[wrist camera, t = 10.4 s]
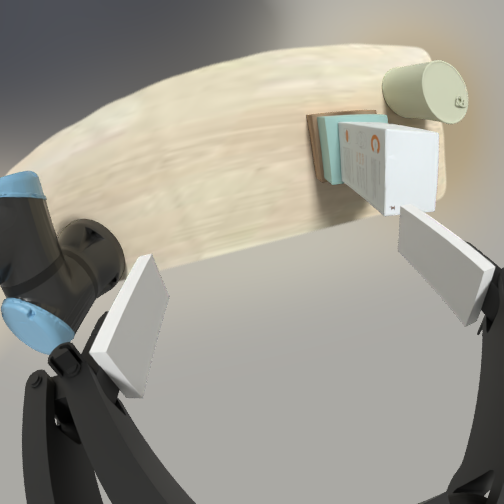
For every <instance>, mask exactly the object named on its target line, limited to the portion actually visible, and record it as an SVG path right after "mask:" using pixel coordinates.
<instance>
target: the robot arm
mask: <svg viewBox="0 0 504 504" xmlns="http://www.w3.org/2000/svg"><path fill="white" fill-rule="evenodd" d="M46 200H47V199H46V196H45V195H44V193H43V190H42V187H41V183H40V180H39V177H38V175H37V174H36V173H34V172H32V171H24V172H19V173H15V174H11V175H7V176H4V177H1V178H0V285H1V288H2V290H3V292H4V294H5V296H6V299H4V301H3V303H2V306H1V312H2V317H3V319H4V321H5V323H6V325H7V326H8V327H9V329H10V330H11V331H12V332H13V333H14V334H15V335H16V336H17V337H18V338H19V339H20V340H21V341H22V342H24V343H25V344H26V345H28V346H29V347H31V348H33V349H34V350H36V351H38V352H41V353H44V354H48V355H49V358H48V364H49V365H50V366H51V368H52V369H53V370H54V371H55V372H56V373H57V376H54V377H50V376H49V375H48V374H47V373H46V372H45V370H37V371H35V372H34V373H32V375H30V376H29V378H28V380H27V383H26V387H25V396H24V407H23V425H22V426H23V427H22V457H23V474H24V485H25V493H26V500H27V504H103V502H102V498H101V495H100V491H99V488H98V485H97V480H96V477H95V472H96V475H97V477H98V479H99V481H100V483H101V485H102V486H103V488H104V490H105V492H106V494H107V496H108V497H109V499H110V501H111V502H112V504H196V503H195V502H194V501H193V500H192V499H191V498H190V497H189V496H188V495H187V494H186V492H185V491H184V490H183V489H182V488H181V487H180V485H179V484H178V483H177V482H176V481H175V479H174V478H173V477H172V476H171V475H170V473H169V472H168V471H167V470H166V468H165V467H164V465H163V464H162V463H161V462H160V460H159V459H158V458H157V456H156V455H155V453H154V452H153V451H152V449H151V448H150V446H149V445H148V443H147V442H146V441H145V439H144V438H143V436H142V435H141V433H140V432H139V430H138V429H137V427H136V425H135V424H134V422H133V421H132V419H131V417H130V416H129V414H128V412H127V411H126V409H125V407H124V405H123V404H122V402H121V401H120V400H119V399H118V398H117V396H118V393H119V390H120V391H121V392H122V393H123V394H124V395H125V397H126V398H143V396H144V391H145V387H146V382H147V378H148V374H149V370H150V366H151V362H152V358H153V354H154V350H155V346H156V342H157V339H158V335H159V332H160V328H161V324H162V321H163V317H164V314H165V310H166V307H167V303H168V300H169V294H168V292H167V290H166V287H165V285H164V282H163V280H162V277H161V275H160V273H159V270H158V268H157V265H156V263H155V260H154V258H153V255H152V254H148V255H144V256H139V257H138V259H137V261H136V263H135V264H134V266H133V268H132V270H131V271H130V273H129V275H128V277H127V278H126V280H125V282H124V284H123V286H122V288H121V290H120V291H119V293H118V295H117V297H116V299H115V301H114V302H113V304H112V306H111V309H110V310H109V311H108V312H105V313H104V314H103V315H102V316H101V317H100V318H99V320H98V322H97V323H96V325H95V327H94V328H95V329H94V330H93V331H92V333H91V336H90V338H89V339H88V341H87V343H86V346H85V348H84V350H83V352H82V354H80V353H79V351H78V350H77V349H76V348H75V346H74V345H73V343H70V341H71V340H72V339H73V338H74V335H75V334H76V332H77V330H78V328H79V327H80V325H81V323H82V321H83V320H84V318H85V316H86V314H87V313H88V311H89V309H90V308H91V306H92V304H93V303H94V301H95V300H96V298H98V297H100V296H101V295H103V294H104V293H106V292H108V291H109V290H111V289H112V288H113V287H114V286H115V285H116V284H117V283H118V281H119V279H120V278H121V276H122V274H123V271H124V255H123V252H122V249H121V246H120V244H119V243H118V241H117V239H116V238H115V237H114V235H113V234H112V233H111V232H110V231H109V230H108V229H107V228H106V227H104V226H103V225H101V224H100V223H98V222H95V221H93V220H88V219H80V220H76V221H74V222H72V223H71V224H69V225H68V226H67V227H66V228H65V229H64V230H63V231H62V232H61V233H60V235H59V237H58V239H57V236H56V233H55V230H54V227H53V223H52V220H51V217H50V214H49V210H48V206H47V203H46ZM398 252H399V253H400V254H401V255H402V256H403V257H404V258H405V259H406V260H407V261H408V262H409V263H410V264H411V265H412V266H413V267H414V268H415V269H416V270H417V271H418V273H419V274H420V275H421V276H422V277H423V278H424V279H425V280H426V281H427V282H428V283H429V285H430V286H431V287H432V288H433V289H434V290H435V291H436V292H437V294H438V295H439V296H440V297H441V298H442V299H443V300H444V302H445V303H446V304H447V305H448V306H449V308H450V309H451V310H452V311H453V312H454V314H455V315H456V316H457V317H458V319H459V320H460V321H461V322H462V324H463V325H464V326H465V327H466V326H468V325H470V324H472V323H474V322H476V321H477V318H478V316H479V314H480V311H481V310H482V311H483V313H484V314H485V316H484V318H483V321H482V323H481V325H480V328H479V330H478V333H477V335H479V334H480V332H481V330H483V334H482V336H483V339H482V342H483V343H482V360H481V372H480V373H481V374H480V382H479V390H478V397H477V404H476V409H475V414H474V419H473V425H472V429H471V433H470V437H469V441H468V445H467V449H466V452H465V456H464V459H463V462H462V464H461V466H460V468H459V469H458V470H457V472H456V473H455V475H454V476H453V478H452V480H451V482H450V484H449V486H448V489H447V491H446V492H444V493H442V494H440V495H438V496H435V497H433V498H431V499H428V500H426V501H423V502H421V503H418V504H504V268H502V269H501V268H500V267H498V266H497V265H496V264H495V263H494V262H493V261H491V260H490V259H489V258H488V257H486V256H485V255H483V253H482V252H481V251H479V250H477V249H476V247H474V246H473V245H472V244H470V243H468V242H466V241H464V240H462V239H460V238H459V237H458V236H457V235H455V234H454V233H452V232H451V231H450V230H448V229H447V228H446V227H444V226H443V225H442V224H440V223H439V222H437V221H436V220H434V219H433V218H431V217H430V216H429V215H427V214H426V213H424V212H423V211H421V210H420V209H418V208H417V207H415V206H414V205H412V204H408V205H402V206H400V225H399V242H398ZM55 419H57V425H56V423H55ZM94 471H95V472H94ZM489 490H490V493H489V496H488V498H486V497H484V495H485V494H486V493H487V492H488V491H489Z"/></svg>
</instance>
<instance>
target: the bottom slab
mask: <svg viewBox="0 0 504 504" xmlns="http://www.w3.org/2000/svg"><path fill="white" fill-rule="evenodd" d="M356 114H377V113H376V110H356V111H342V112H330V113H320V114H311V115H306V116H307V121H308V127H309V133H310V139H311V145H312V152H313V158H314V165H315V172H316V177H317V178H318V179H319V180H320V181H321V182H322V183H323V182H328V181H327V180H326V179H325V178H324V170H323V161H322V152H321V144H320V136H319V129H318V122H317V117H322V116H336V115H356Z"/></svg>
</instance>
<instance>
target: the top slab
mask: <svg viewBox="0 0 504 504" xmlns="http://www.w3.org/2000/svg"><path fill="white" fill-rule="evenodd" d="M317 122H318V129H319V136H320V144H321V152H322V161H323V170H324V178H325V179H326V180H327V181H328V182H329V183H331V184H332V185H335V184H343V183H344V182H343V181H342V177H341V158H340V141H339V127H338V123H339V122H381V123H388V118H387V115H381V114H356V115H336V116H322V117H317Z"/></svg>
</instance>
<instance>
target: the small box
mask: <svg viewBox="0 0 504 504" xmlns="http://www.w3.org/2000/svg"><path fill="white" fill-rule="evenodd" d="M338 127H339V141H340V158H341V177H342V181H343V182H344V183H345V184H347V185H348V186H349V187H350V188H351V189H353V190H354V191H355V192H356V193H358V194H359V195H360V196H361V197H362V198H364V199H365V200H366V201H367V202H368V203H370V204H371V205H372V206H373V207H374V208H375V209H377V210H378V211H379V212H380V213H381V214H382V215H383V216H392V215H400V206H402V205H408V204H412V205H414V206H415V207H417V208H418V209H420V210H421V211H423V212H432V211H435V204H436V195H437V182H438V163H439V133H437V132H433V131H428V130H424V129H419V128H413V127H408V126H402V125H396V124H389V123H381V122H339V123H338Z"/></svg>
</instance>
